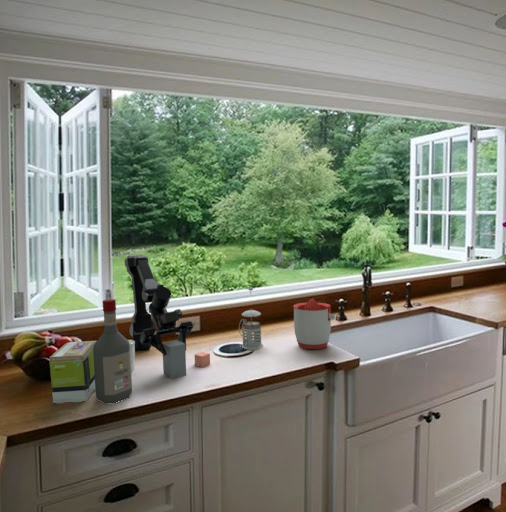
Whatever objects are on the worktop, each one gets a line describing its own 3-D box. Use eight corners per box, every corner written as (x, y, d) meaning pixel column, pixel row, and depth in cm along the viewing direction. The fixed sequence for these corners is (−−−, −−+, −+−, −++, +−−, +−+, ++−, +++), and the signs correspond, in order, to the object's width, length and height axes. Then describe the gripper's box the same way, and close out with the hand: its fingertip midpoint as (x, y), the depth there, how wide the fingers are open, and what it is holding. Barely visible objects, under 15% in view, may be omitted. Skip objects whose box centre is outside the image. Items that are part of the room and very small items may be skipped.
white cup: (140, 367, 153) (139, 340, 153) (127, 374, 146) (125, 346, 145) (122, 365, 156) (120, 338, 155) (108, 372, 149) (107, 345, 148)
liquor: (135, 395, 128) (131, 299, 125) (109, 406, 121) (103, 304, 118) (119, 388, 134) (114, 296, 131) (92, 398, 127) (86, 301, 124)
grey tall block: (163, 374, 146) (162, 343, 145) (178, 370, 149) (177, 340, 148) (171, 378, 141) (169, 347, 140) (186, 374, 145) (185, 343, 144)
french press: (268, 345, 176) (267, 286, 174) (249, 352, 167) (248, 290, 165) (251, 341, 183) (250, 284, 180) (232, 347, 174) (230, 288, 172)
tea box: (69, 384, 138) (66, 341, 137) (100, 382, 139) (98, 339, 138) (51, 404, 123) (48, 355, 122) (86, 402, 124) (83, 354, 123)
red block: (194, 364, 155) (194, 354, 154) (202, 361, 158) (202, 351, 157) (202, 367, 152) (201, 356, 152) (210, 364, 155) (209, 353, 155)
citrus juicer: (333, 353, 163) (332, 303, 162) (290, 350, 169) (289, 301, 167) (338, 342, 178) (337, 295, 176) (298, 339, 184) (297, 294, 182)
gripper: (141, 306, 140) (157, 345, 133) (190, 298, 152) (207, 334, 144) (133, 325, 147) (147, 363, 140) (180, 316, 159) (196, 351, 151)
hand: (175, 352), depth 143 cm, fingers open, 7 cm apart
